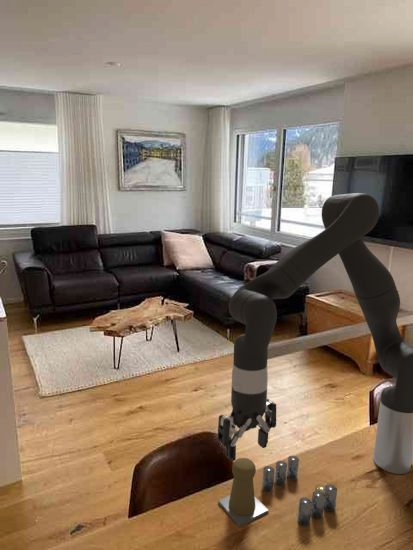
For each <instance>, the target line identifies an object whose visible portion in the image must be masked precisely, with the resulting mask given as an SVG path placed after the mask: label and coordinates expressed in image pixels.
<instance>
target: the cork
mask: <svg viewBox="0 0 413 550" xmlns="http://www.w3.org/2000/svg"><path fill="white" fill-rule="evenodd" d="M231 468H232V469H231V472H232V475H233V480H232V484H231V489H230V494H229V496H230V500H229V508H230V510H231V511H232V512H233V513H235V514H237V515H240V516H247V515H250V514H252V513H253V512H254V511H255V497H256V496H255V488H254V477H255V475H256V464H255V463H254V462H253V461H252V459H249V458H247V457H239V458H236V460H234V461H233V463H232V466H231Z"/></svg>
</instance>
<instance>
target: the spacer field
mask: <svg viewBox="0 0 413 550" xmlns="http://www.w3.org/2000/svg"><path fill="white" fill-rule="evenodd" d="M299 461H300V459H299V458H298V456H295V455H290V456H288V458H287V462H285V461H284V460H277V461H276V463H275V468H274V467H273V466H270V465H267V466H264V467H263V468H262V469H263V472H262V485H261V486H262V490H263V491H265V492H269V493H270V492H272V491H274V484H276V485H277V486H280V487H283V486H285V485H286V481H287V479H289V480H291V481H296V480H297V479H298V475H299V464H300V463H299ZM286 478H287V479H286ZM325 485H326V486H325V495H324V493H322V492H321V491H315V490H313V492H312V497H311V498H309V497H305V496H304V497H300V498H299V504H298V513H297V522H298V524H299V525H300V526H302V527H308V526H310V524H311V517H312V518H314V519H316V520H321V519H323V517H324V511H326V512H329V513H333V512H335V510H336V504H337V495H338V488H337V487H336V486H335V485H333V484H331V483H330V484H325Z"/></svg>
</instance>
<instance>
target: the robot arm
mask: <svg viewBox="0 0 413 550" xmlns="http://www.w3.org/2000/svg"><path fill="white" fill-rule="evenodd" d="M379 217H380V206H379V204H378V202H377V200H376V199H375V198H374V197H373V196H372V195H371V194H368V193H361V192H353V193H345V194H343V193H341V194H335V195H332V196H329V197H327V198H326V200H325V201H324V202H323V204H322V208H321V221H322V224H323V226H324V229H323V230H322V231H321V232H320V233H318V234H316V235H314V236H313V237H311V238H309V239H308V240H306V241H304V242H303V243H301V244H299V245H297V246H295V247H294V248H292V249H290V250H289V251H287V253H285V254H284V255H283V256H282V257H281V258H280V259H278V260H277V261H276V263H274V264H273V265H271V267H270V268H269V269H268V270H267V271H266V272H264V273H262V274H260V275H259V276H257V277H254V278H253V279H251V280H250V281H248V282H247V283H245V284H244V285H242V286H241V287H239V288H238V289H237V290H236V291H235V292H234V293H233V295H232V296H231V298H230V300H229V303H228V311H229V314H230V316H231V317H232V318H233V319H234V320H235V321H237V322H239V323H242V324H243V325H245V332H244V333H241V334H240V335H238V336H237V337H236V338H235V340H234V344H233V364H232V370H231V371H232V372H231V392H230V393H231V394H230V396H231V397H230V403H231V408H232V410H231V413H230V414H229V415H224V414H220V415H219V416H218V421H217V422H218V424H217V425H218V426H217V437H216V439H217V442H219V443H220V444H221V445H222V446H223V447H225V449H224V450H225V456H226V458H228V459H229V460H230V461H231V462H235V460H237V458H236V457H237V456H236V455H237V452H236V451H237V445H236V444H237V443H238V441H239V438H240V439H241V438H242V437H243V435H244V433H245V432H248V431H249V430H251V429H256V428H257V426H258V431H257V444H258V446H260V448H262V449H266V448H267V446H268V445H267V444H268V443H269V433H270V431H271V429H272V428H273V429H275V428H276V427H277V404H276V403H275V402H274V401H273V400H270V399H269V398H268V381H269V380H268V379H269V374H268V373H269V372H268V353H269V351H268V350H269V349H268V348H269V346H270V345H269V344H270V342H271V339H272V336H273V333H274V330H275V327H276V323H277V318H278V312H277V306H276V304H275V302H274V301H273V300H278V299H283V300H285V299H287V298H289V297H291V296H292V295H293V294H294V293H296V292H297V290H298V289H299V288H300V287H301V286H302V285H303V284H304V283H306V282H307V281H308V279H310V278H311V277H312V276H313V275H314V274H315V273H316V272H317V271H318V270H319V269H321V268H322V267H323V266H324V265H325V264H327V263H328V262H329V261H331V260H332V259H333V258H334V257H336V256H337V255H338V256H339V257H340V260H341V263H342V264H343V266H344V269H345V272H346V274H347V276H348V278H349V281H350V283H351V285H352V288H353V289H352V290H353V292H354V295H355V297H356V300H357V302H358V304H359V307H360V309H361V311H362V314H363V317H364V318H365V322H366V325H367V327H368V329H369V331H370V333H371V334H370V335H371V337H372V341H373V345H374V348H375V353H376V356H377V360H378V362H379V365H380V368H382V370H383V371H384V372H386V373H387V374H388V375H390V376H391V377H393V378H394V379H396V381H395V385H394V386H388V387H387V386H386V387H384V388H383V389H382V390H381V392H380V393H381V394H380V400H379V408H378V417H377V425H376V433H375V434H376V435H375V439H374V440H375V442H374V448H373V456H372V459H373V462H374V464H375V465H376V466H378V467H379V468H380V469H381V470H383V471H385V472H388V473H392V474H396V475H405V474H408V473H409V472H410V471H411V469H412V468H411V467H412V464H413V345H411V344H409V343H407V342H406V341H405V340H404V338H403V336H402V334H401V333H400V330H399V326H398V324H397V318H398V315H399V313H400V309H401V308H400V307H401V298H400V294H399V290H398V288H397V286H396V282H395V280H394V278H393V275H392V273H391V272H390V271H389V270H388V268H387V267H386V266H385V265H384V264H383V262H382V261H380V259H379V258H378V257H377V256H376V255H375V254H374V253H373V252H372V251H371V250H370V249H369V247H368V246H367V244H366V243H365V242H364V239H363V237H365V236H366V235H367V234H368V233H370V232H371V231H372V230H373V229H374V228H375V226H376V225H377V223H378V221H379ZM263 416H264V418H263ZM236 428H238V430H237V429H236Z"/></svg>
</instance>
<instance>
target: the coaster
mask: <svg viewBox="0 0 413 550" xmlns="http://www.w3.org/2000/svg"><path fill="white" fill-rule="evenodd" d="M229 500H230V495H227V496H225V497H224V498H223V497H222V498H221V499H218V504H219V505H220V507H222V509H223V510H224V511H225V512H226V514H227V515H228V516H229V517H230V518H231V519H232V521H234V523H236V525H237V526H238V527H242V526H244V525H246V524H247V523H249V522H253V521H254V520H256V519H258V518H260V517H261V516H264V515H266V514H268V513H269V509H268V508H267V507H266V506H265V505H264V504H263V503H262V502H261V501H260V500H259V498H258V497H256V496H255V511H254V512H253V513H252V514H250V515H247V516H240V515H237V514H235V513H233V512H232V511H231V510H230V508H229Z"/></svg>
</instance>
